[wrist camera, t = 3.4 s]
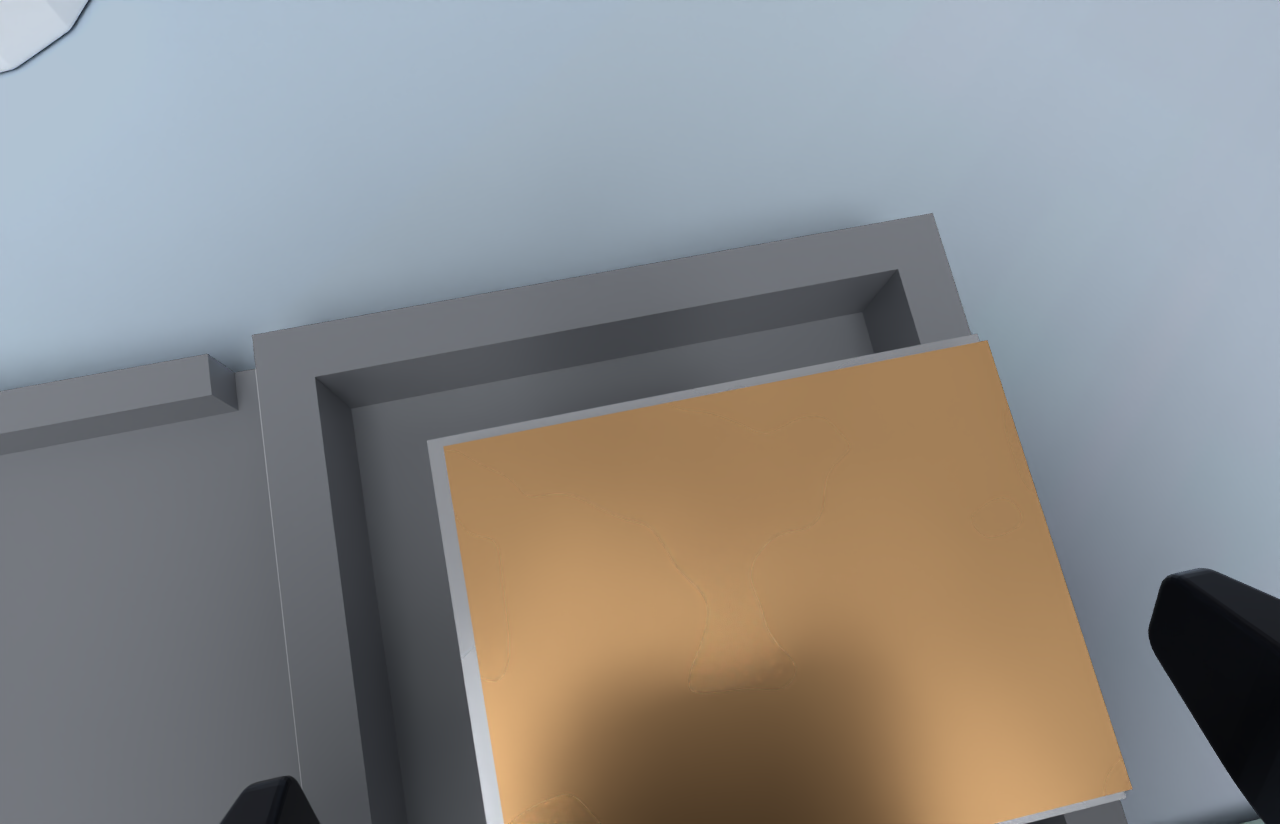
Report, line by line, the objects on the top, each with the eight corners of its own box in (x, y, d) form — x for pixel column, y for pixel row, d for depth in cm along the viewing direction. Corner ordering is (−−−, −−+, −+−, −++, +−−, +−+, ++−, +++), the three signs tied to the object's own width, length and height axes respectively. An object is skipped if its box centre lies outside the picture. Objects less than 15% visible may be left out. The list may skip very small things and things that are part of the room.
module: (818, 697, 17) (1166, 811, 6) (563, 757, 16) (500, 980, 6) (768, 496, 17) (1002, 313, 7) (525, 547, 17) (414, 427, 7)
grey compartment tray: (1080, 895, 16) (1165, 943, 14) (-473, 1303, 14) (-706, 1449, 11) (890, 265, 19) (932, 213, 17) (-412, 505, 17) (-584, 484, 14)
